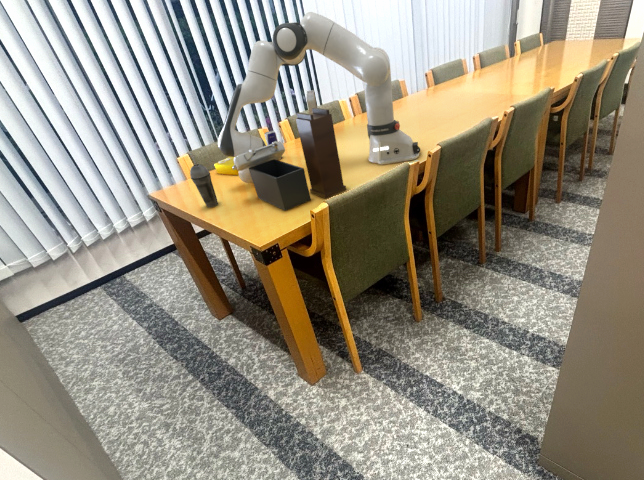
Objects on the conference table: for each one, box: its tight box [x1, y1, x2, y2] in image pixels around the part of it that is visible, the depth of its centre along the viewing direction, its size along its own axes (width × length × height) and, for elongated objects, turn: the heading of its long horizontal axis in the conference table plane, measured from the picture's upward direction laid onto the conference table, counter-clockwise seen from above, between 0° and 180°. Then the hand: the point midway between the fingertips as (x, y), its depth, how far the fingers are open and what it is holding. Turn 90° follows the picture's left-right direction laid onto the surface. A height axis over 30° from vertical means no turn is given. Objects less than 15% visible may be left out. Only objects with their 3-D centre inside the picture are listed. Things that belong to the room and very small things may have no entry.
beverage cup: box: [189, 151, 219, 209], centre depth 149 cm, size 7×7×20 cm
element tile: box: [213, 156, 239, 176], centre depth 187 cm, size 15×15×5 cm
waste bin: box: [249, 159, 312, 212], centre depth 147 cm, size 21×11×12 cm, turn 40°
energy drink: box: [264, 130, 283, 161], centre depth 189 cm, size 5×5×12 cm
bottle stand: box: [295, 107, 347, 200], centre depth 141 cm, size 10×10×28 cm
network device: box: [305, 89, 318, 114], centre depth 210 cm, size 26×9×20 cm, turn 6°
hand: (264, 147), depth 141 cm, fingers open, 8 cm apart
